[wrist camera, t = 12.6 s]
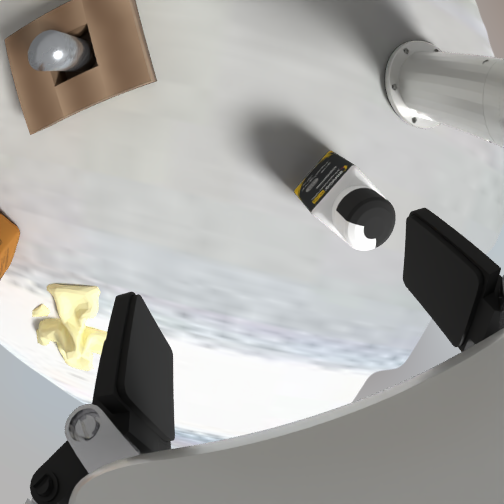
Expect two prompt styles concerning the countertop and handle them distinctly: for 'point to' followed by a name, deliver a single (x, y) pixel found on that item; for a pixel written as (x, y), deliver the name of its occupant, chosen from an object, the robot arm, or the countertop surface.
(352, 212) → the medicine bottle
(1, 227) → the coffee package
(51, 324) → the cloth
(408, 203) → the countertop surface
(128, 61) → the bore block
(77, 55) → the pin
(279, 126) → the countertop surface
